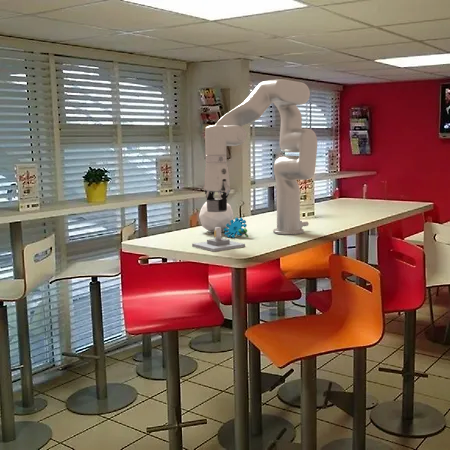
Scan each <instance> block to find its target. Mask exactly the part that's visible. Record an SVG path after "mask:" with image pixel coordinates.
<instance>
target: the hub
mask: <svg viewBox="0 0 450 450" xmlns="http://www.w3.org/2000/svg"><path fill="white" fill-rule="evenodd" d="M219 199H220V198H215V199H212V200H207V199H206V202H207V211H208V212H225V211H226V210H223V211H219Z"/></svg>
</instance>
